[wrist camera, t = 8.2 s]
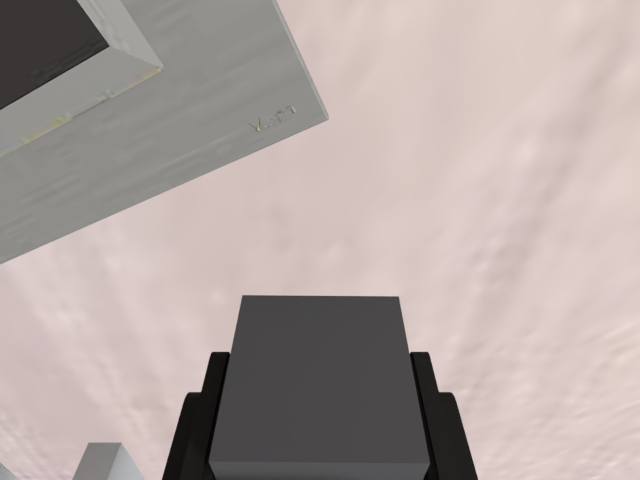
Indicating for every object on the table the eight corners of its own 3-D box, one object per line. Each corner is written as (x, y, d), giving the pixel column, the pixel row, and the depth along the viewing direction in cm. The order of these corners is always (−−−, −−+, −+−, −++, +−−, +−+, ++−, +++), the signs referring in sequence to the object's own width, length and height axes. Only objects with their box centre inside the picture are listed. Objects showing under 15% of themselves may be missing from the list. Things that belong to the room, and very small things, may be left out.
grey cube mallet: (242, 295, 13) (208, 461, 9) (398, 296, 13) (429, 463, 9) (275, 481, 23) (266, 596, 19) (362, 482, 23) (370, 597, 19)
